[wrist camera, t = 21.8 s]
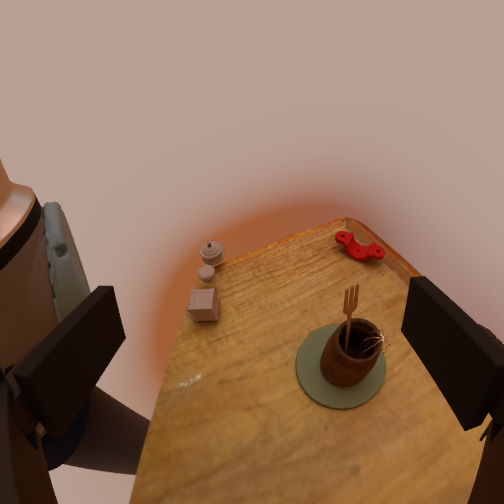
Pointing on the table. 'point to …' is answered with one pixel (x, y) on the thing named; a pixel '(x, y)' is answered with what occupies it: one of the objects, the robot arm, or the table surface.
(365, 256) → the pipe clamp
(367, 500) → the table surface
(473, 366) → the robot arm
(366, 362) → the utensil holder
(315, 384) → the rubber mat
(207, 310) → the toy set
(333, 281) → the table surface
